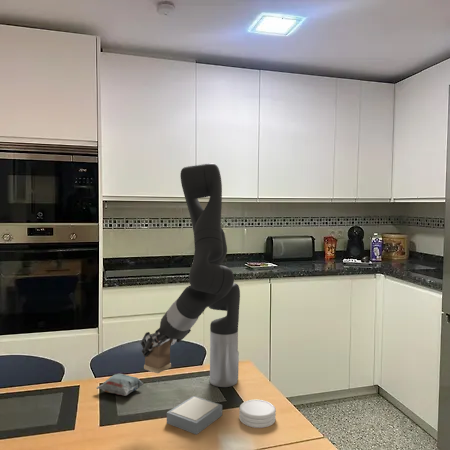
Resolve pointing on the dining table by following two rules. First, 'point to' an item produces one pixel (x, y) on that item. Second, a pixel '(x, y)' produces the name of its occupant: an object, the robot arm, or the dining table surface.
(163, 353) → the dome-topped square block
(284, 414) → the dining table surface
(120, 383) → the packaged food
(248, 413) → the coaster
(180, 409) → the dock
